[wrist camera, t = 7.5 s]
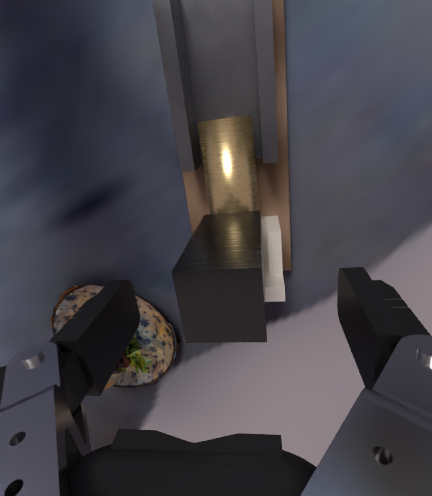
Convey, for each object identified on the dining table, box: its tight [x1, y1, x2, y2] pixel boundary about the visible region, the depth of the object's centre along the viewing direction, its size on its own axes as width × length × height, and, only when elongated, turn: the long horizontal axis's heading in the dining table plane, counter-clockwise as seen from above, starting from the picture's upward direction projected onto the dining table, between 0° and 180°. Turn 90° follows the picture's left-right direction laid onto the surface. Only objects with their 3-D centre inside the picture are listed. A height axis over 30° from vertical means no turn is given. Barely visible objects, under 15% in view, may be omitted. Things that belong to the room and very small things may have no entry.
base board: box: [182, 0, 291, 271], centre depth 19 cm, size 18×7×1 cm, turn 7°
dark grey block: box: [172, 115, 267, 343], centre depth 15 cm, size 9×3×10 cm, turn 7°
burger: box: [51, 285, 180, 390], centre depth 25 cm, size 12×12×8 cm
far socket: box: [261, 215, 285, 302], centre depth 19 cm, size 4×5×5 cm
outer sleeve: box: [153, 0, 278, 173], centre depth 16 cm, size 9×5×3 cm, turn 7°
